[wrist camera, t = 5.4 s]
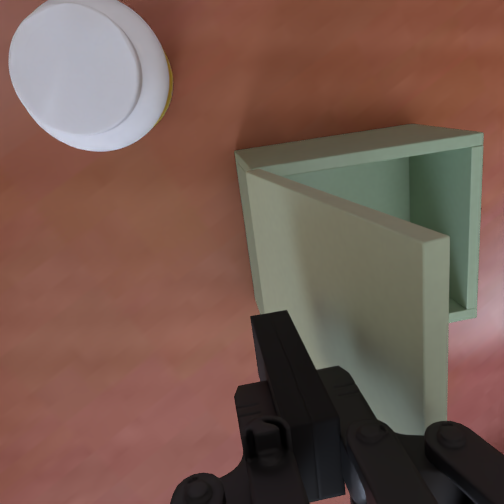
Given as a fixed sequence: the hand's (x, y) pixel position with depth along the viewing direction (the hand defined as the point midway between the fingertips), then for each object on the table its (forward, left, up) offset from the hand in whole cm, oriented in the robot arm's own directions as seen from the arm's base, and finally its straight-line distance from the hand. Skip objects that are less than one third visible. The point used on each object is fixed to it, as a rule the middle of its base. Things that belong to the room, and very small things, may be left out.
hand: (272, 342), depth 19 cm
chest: (0, +7, -16) cm, 17 cm away
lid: (0, +3, 0) cm, 3 cm away
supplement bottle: (-11, -6, -16) cm, 20 cm away
